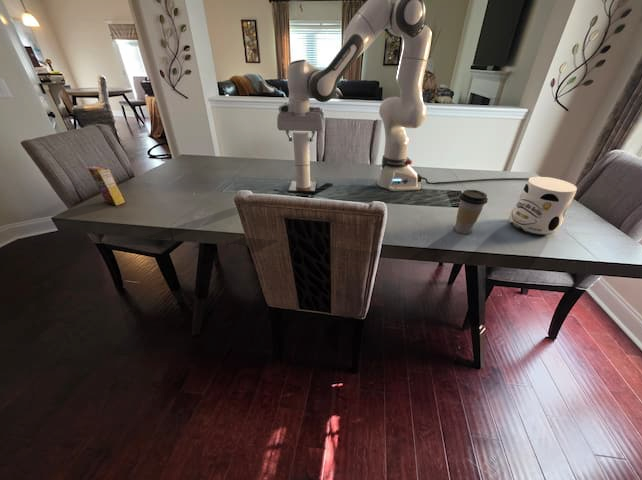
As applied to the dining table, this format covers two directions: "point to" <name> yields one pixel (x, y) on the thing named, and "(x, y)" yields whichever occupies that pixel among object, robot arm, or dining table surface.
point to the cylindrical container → (302, 158)
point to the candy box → (106, 185)
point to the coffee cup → (469, 210)
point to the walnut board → (302, 190)
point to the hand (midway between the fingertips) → (300, 141)
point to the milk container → (542, 205)
